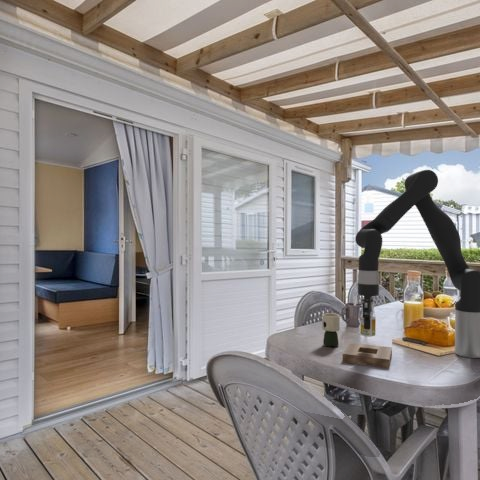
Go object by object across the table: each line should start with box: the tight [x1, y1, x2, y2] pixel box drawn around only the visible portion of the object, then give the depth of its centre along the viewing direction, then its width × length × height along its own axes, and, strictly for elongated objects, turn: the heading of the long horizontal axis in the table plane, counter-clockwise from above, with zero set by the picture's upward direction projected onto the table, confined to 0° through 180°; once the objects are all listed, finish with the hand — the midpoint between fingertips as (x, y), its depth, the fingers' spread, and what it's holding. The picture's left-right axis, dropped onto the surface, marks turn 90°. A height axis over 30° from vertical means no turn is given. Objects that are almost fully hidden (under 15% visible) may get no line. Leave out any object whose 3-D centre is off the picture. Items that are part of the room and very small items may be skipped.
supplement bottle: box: [359, 309, 376, 337], centre depth 144 cm, size 5×5×10 cm
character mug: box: [321, 312, 341, 348], centre depth 160 cm, size 11×7×13 cm, turn 174°
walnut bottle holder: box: [342, 342, 393, 369], centre depth 144 cm, size 16×16×3 cm
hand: (368, 327), depth 144 cm, fingers closed on supplement bottle, 5 cm apart
